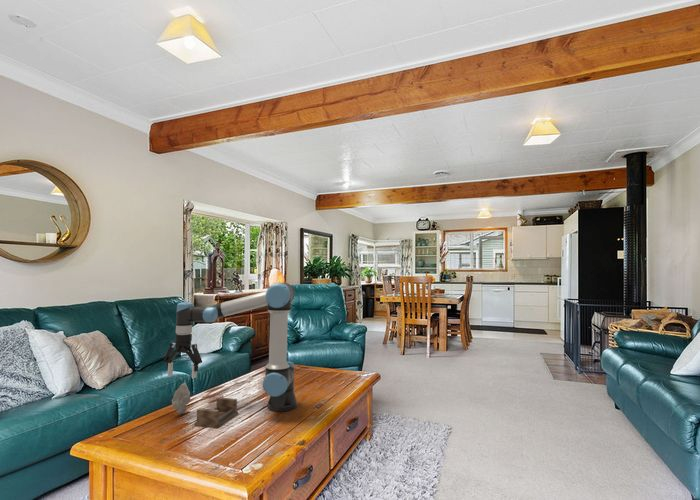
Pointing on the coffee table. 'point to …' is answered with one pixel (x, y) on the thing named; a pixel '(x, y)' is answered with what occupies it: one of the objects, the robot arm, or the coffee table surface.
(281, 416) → the coffee table surface
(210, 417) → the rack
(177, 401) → the stone tool
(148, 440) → the coffee table surface
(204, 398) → the coffee table surface
